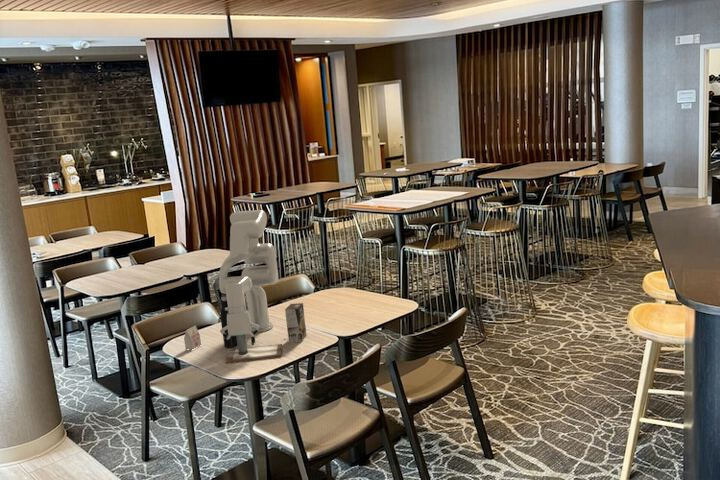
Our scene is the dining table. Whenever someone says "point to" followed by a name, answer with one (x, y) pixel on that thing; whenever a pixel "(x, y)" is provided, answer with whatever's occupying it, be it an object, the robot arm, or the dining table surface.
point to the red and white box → (192, 338)
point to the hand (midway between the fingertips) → (242, 345)
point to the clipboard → (255, 353)
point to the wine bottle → (224, 321)
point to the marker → (242, 344)
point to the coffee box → (295, 322)
